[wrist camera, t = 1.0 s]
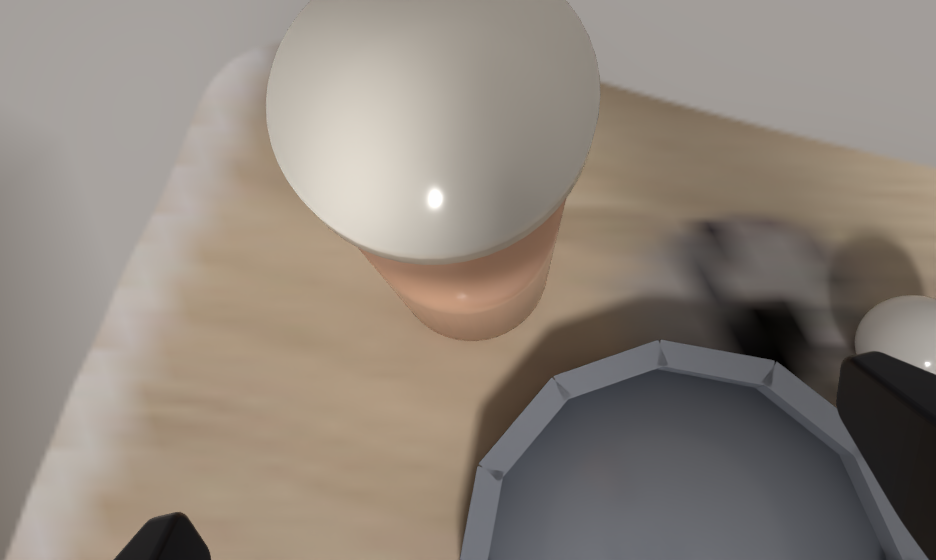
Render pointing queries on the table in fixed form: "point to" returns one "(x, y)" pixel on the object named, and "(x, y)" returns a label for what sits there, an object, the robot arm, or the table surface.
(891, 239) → the table surface
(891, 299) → the pebble
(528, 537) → the bowl
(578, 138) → the pebble jar
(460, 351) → the table surface
